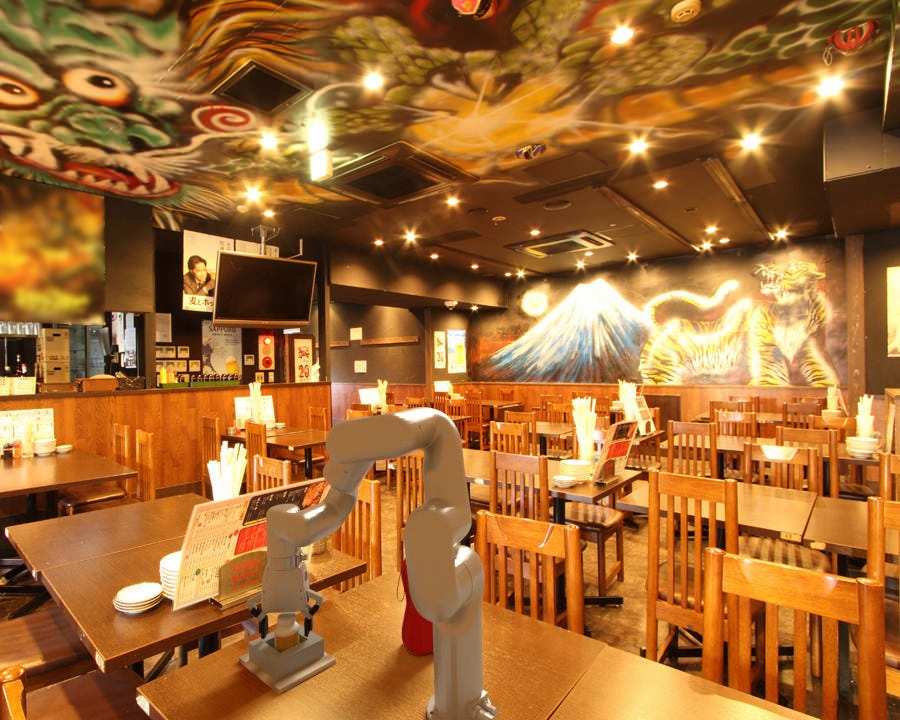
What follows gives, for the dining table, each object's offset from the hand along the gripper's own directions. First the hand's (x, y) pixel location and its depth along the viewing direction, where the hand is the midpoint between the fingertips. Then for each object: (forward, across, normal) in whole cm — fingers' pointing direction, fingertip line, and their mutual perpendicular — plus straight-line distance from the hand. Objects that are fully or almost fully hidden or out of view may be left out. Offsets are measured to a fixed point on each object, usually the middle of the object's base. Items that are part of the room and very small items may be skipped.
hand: (286, 634), depth 116 cm
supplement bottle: (+6, 0, 0) cm, 6 cm away
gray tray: (+6, 0, 0) cm, 6 cm away
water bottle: (+6, -30, -4) cm, 31 cm away
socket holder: (+6, 0, 0) cm, 6 cm away
